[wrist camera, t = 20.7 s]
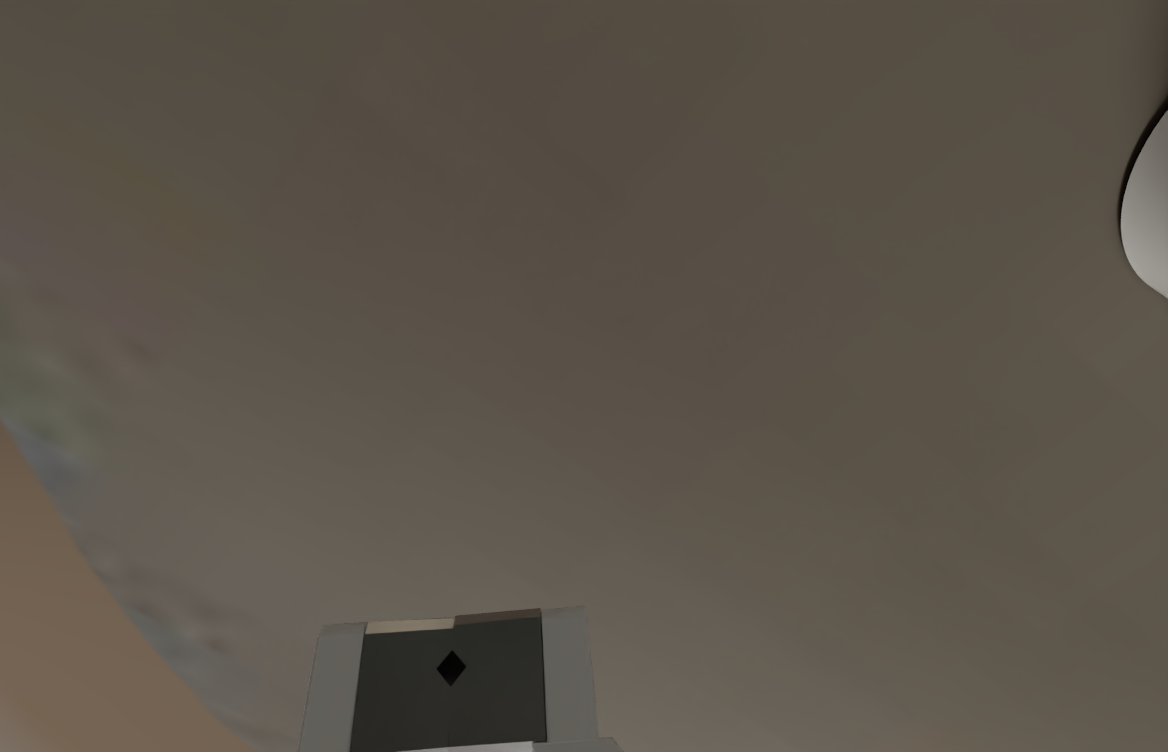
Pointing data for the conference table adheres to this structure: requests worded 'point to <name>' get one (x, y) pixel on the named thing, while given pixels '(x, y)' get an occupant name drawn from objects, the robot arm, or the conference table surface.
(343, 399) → the conference table surface
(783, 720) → the conference table surface
